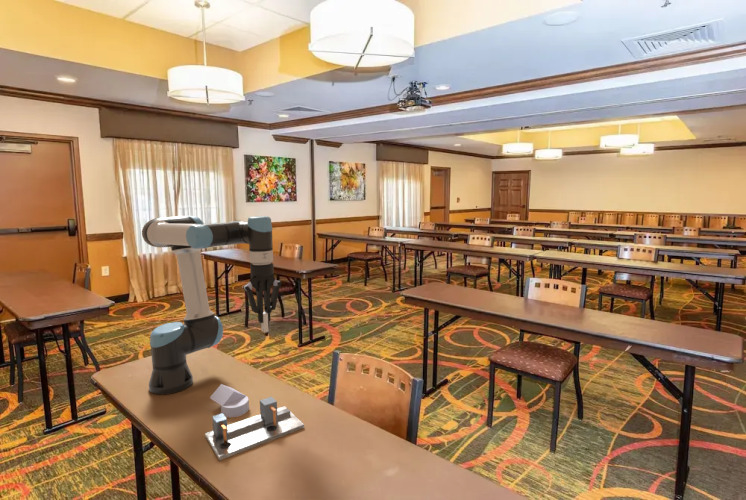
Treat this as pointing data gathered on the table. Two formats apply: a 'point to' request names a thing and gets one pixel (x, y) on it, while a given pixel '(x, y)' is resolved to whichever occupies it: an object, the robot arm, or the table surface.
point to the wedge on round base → (231, 401)
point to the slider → (269, 410)
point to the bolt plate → (249, 432)
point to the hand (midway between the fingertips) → (264, 331)
